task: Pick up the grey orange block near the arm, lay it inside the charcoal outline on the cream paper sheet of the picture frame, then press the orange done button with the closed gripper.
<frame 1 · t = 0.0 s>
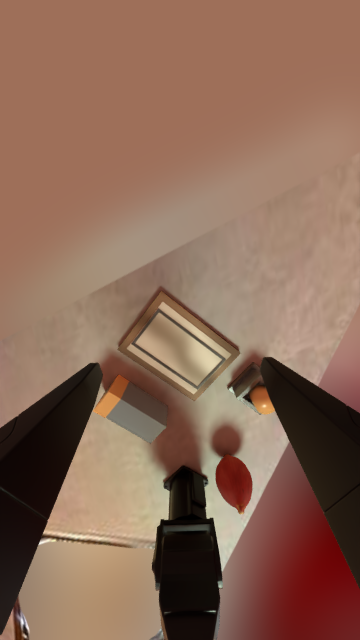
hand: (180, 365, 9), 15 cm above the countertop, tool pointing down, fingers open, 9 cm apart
onion: (226, 454, 32), on the countertop
grey orange block: (137, 399, 28), on the countertop
picture frame: (179, 349, 26), on the countertop
button collar: (254, 387, 27), on the countertop
done button: (262, 399, 24), point 3 cm above the countertop, slide at 0.0 cm
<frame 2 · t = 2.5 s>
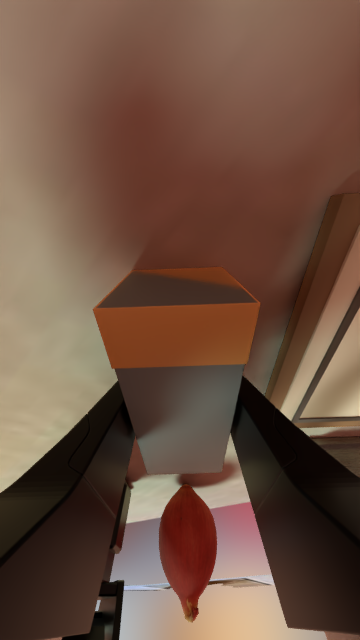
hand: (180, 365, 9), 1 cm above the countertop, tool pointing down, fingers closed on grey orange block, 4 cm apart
onion: (185, 482, 20), on the countertop
grey orange block: (180, 353, 10), on the countertop, touching gripper
button collar: (329, 459, 16), on the countertop
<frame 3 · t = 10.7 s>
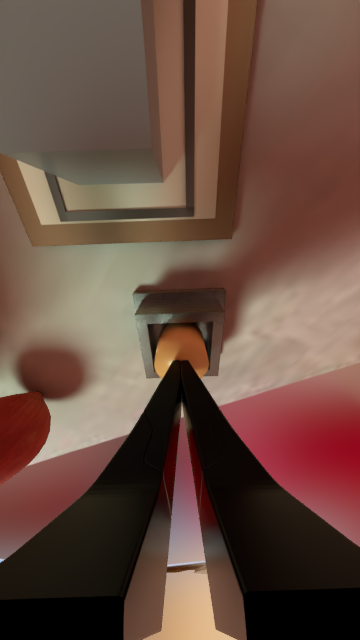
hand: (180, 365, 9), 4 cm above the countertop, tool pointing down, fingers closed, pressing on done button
onion: (39, 392, 16), on the countertop
picture frame: (99, 14, 6), on the countertop
button collar: (180, 331, 12), on the countertop
done button: (181, 351, 10), point 3 cm above the countertop, slide at 0.5 cm, touching gripper
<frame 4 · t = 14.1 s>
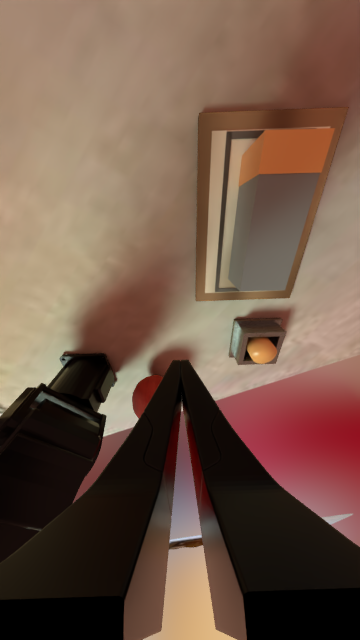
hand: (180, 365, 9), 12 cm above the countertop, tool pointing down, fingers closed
onion: (156, 375, 27), on the countertop
grey orange block: (255, 226, 16), point 1 cm above the countertop, touching picture frame
picture frame: (252, 226, 16), on the countertop
button collar: (254, 339, 23), on the countertop
done button: (259, 348, 21), point 2 cm above the countertop, slide at 1.0 cm
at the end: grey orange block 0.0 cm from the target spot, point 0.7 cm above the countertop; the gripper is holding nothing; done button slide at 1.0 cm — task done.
